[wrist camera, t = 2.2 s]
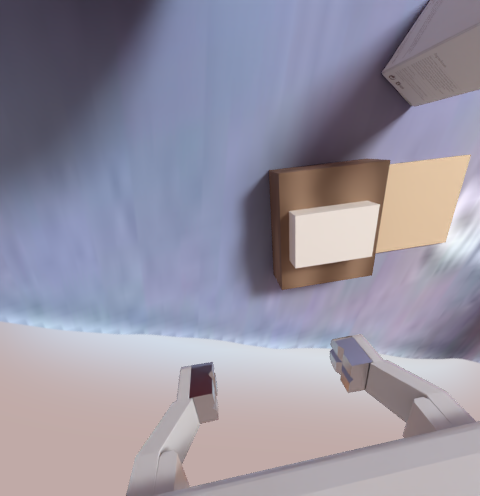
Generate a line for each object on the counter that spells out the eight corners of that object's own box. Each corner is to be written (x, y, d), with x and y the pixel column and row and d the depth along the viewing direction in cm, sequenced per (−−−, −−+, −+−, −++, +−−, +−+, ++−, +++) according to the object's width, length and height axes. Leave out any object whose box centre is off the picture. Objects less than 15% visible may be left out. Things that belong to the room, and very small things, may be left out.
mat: (468, 154, 29) (470, 154, 29) (443, 241, 34) (445, 242, 33) (364, 167, 28) (366, 167, 27) (354, 255, 33) (355, 256, 32)
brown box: (365, 158, 27) (390, 160, 24) (353, 261, 33) (371, 275, 29) (268, 170, 26) (278, 173, 23) (273, 274, 32) (282, 289, 28)
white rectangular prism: (367, 200, 25) (379, 204, 23) (361, 249, 28) (371, 256, 26) (288, 211, 24) (295, 216, 23) (289, 260, 27) (295, 268, 25)
